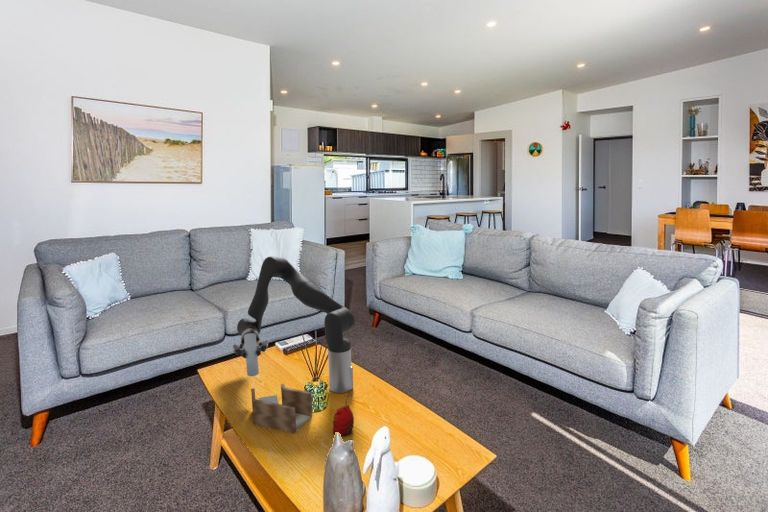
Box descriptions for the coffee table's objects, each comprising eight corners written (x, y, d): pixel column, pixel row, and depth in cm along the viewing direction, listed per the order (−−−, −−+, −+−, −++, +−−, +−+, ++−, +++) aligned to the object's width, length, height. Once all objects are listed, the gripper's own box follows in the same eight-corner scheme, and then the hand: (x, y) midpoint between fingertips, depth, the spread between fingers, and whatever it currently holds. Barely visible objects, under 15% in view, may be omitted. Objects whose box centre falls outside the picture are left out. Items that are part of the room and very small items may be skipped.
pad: (276, 395, 166) (276, 394, 166) (278, 404, 160) (278, 403, 160) (258, 398, 164) (258, 398, 164) (259, 407, 157) (259, 406, 157)
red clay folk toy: (343, 422, 147) (342, 383, 144) (358, 429, 143) (357, 389, 141) (328, 433, 141) (327, 392, 138) (344, 440, 137) (343, 398, 134)
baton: (258, 370, 168) (255, 332, 165) (259, 375, 163) (255, 336, 161) (247, 372, 166) (243, 334, 163) (247, 377, 162) (243, 338, 159)
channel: (307, 401, 162) (306, 379, 160) (316, 429, 144) (315, 405, 142) (252, 411, 155) (251, 388, 154) (254, 441, 137) (252, 416, 135)
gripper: (231, 333, 174) (231, 348, 158) (267, 328, 178) (269, 342, 162) (233, 350, 175) (232, 367, 159) (268, 345, 179) (271, 361, 164)
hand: (251, 354), depth 161 cm, fingers closed on baton, 4 cm apart
